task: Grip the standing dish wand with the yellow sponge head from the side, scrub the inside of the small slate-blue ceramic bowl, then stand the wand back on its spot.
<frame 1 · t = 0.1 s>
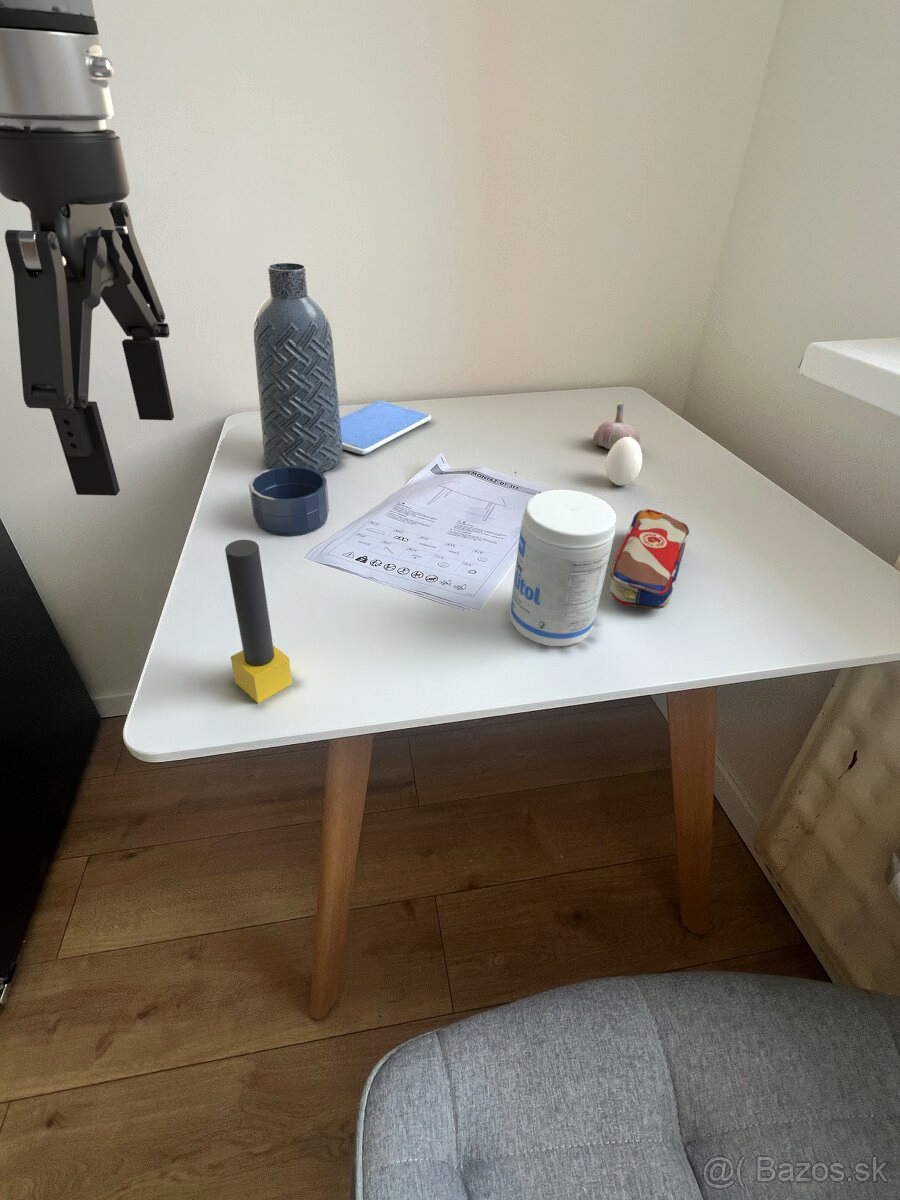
hand: (130, 452, 55), 25 cm above the table, tool pointing down, fingers open, 13 cm apart
egg: (619, 485, 109), on the table
bowl: (292, 518, 96), on the table
tablet: (372, 430, 122), on the table
garlic bulb: (614, 449, 119), on the table
supplement tub: (551, 624, 79), on the table
vase: (304, 460, 111), on the table
pencil case: (644, 574, 89), on the table
dish wand: (263, 683, 70), on the table
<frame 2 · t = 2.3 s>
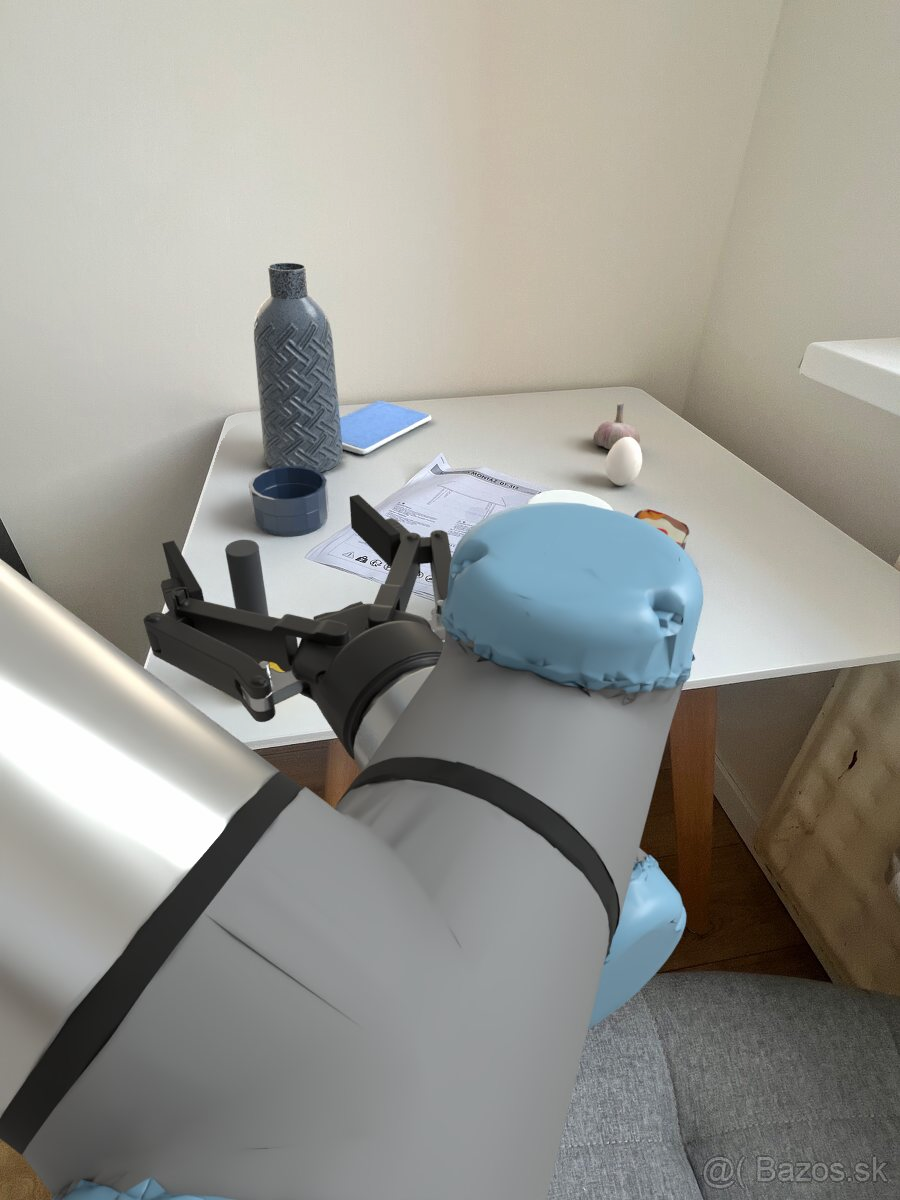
hand: (268, 533, 50), 22 cm above the table, tool horizontal, fingers open, 13 cm apart
nothing on the table moved.
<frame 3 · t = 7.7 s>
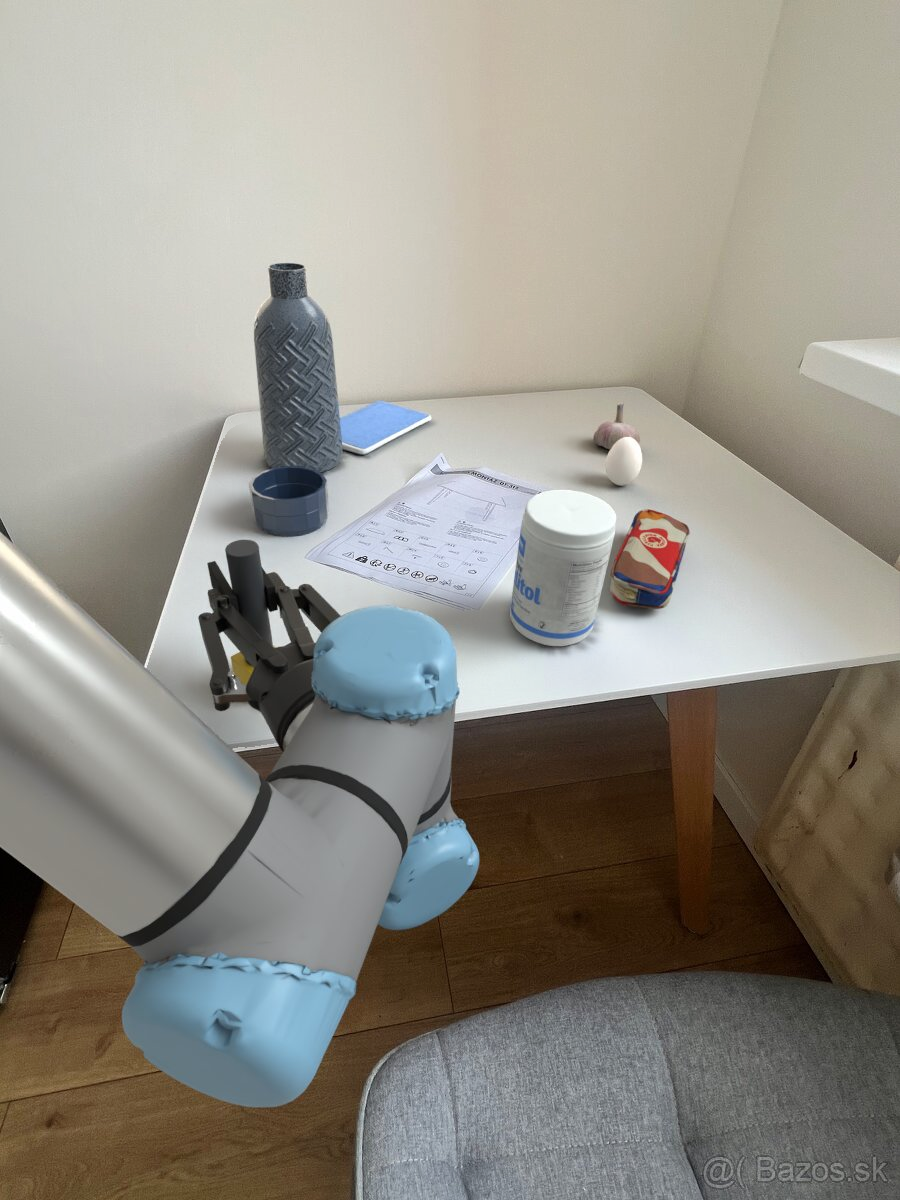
hand: (231, 569, 67), 10 cm above the table, tool horizontal, fingers closed on dish wand, 3 cm apart
dish wand: (263, 683, 70), on the table, touching gripper
everything else where it was.
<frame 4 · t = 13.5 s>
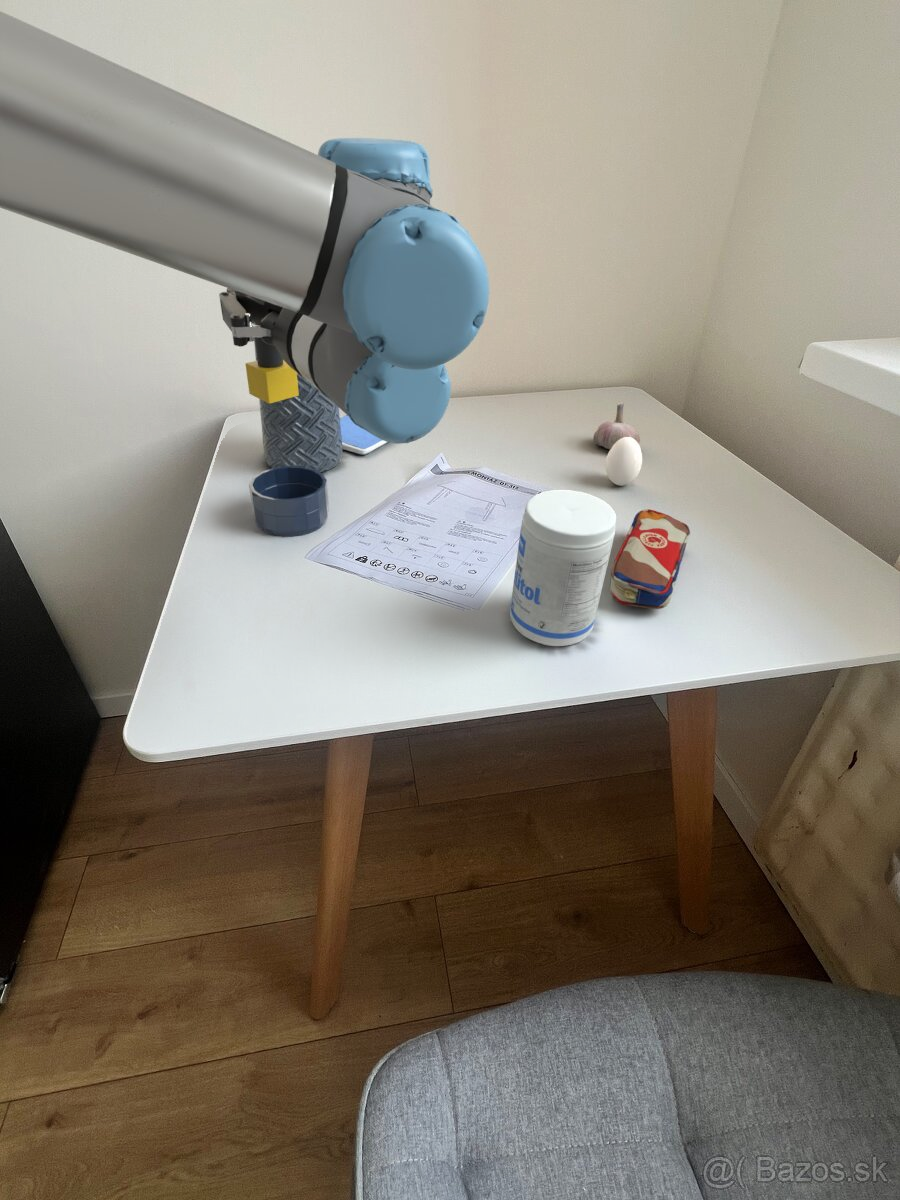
hand: (246, 285, 77), 30 cm above the table, tool horizontal, fingers closed on dish wand, 3 cm apart
dish wand: (274, 394, 80), point 20 cm above the table, touching gripper
everything else where it was.
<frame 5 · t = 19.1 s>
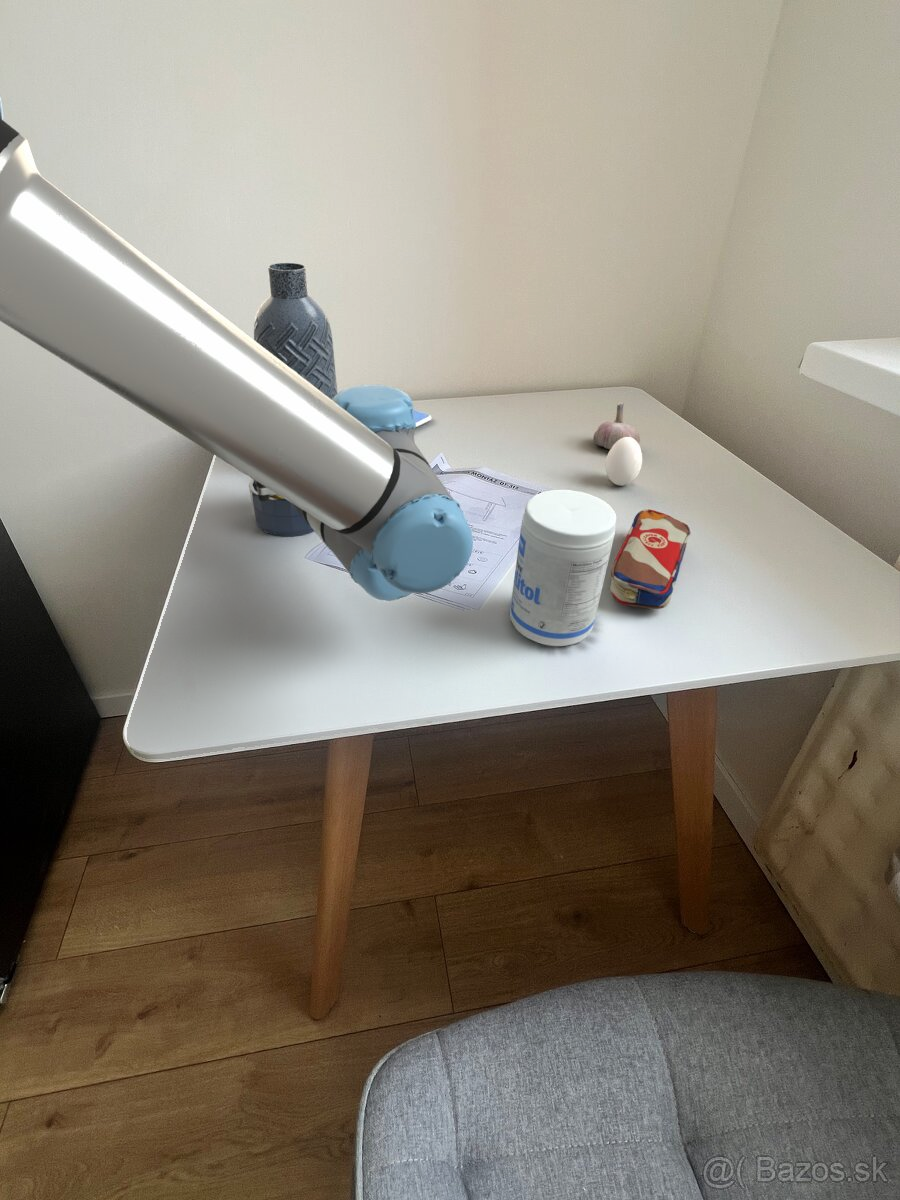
hand: (265, 428, 93), 11 cm above the table, tool horizontal, fingers closed on dish wand, 3 cm apart
dish wand: (293, 511, 95), point 1 cm above the table, tilted 5°, touching gripper
everything else where it was.
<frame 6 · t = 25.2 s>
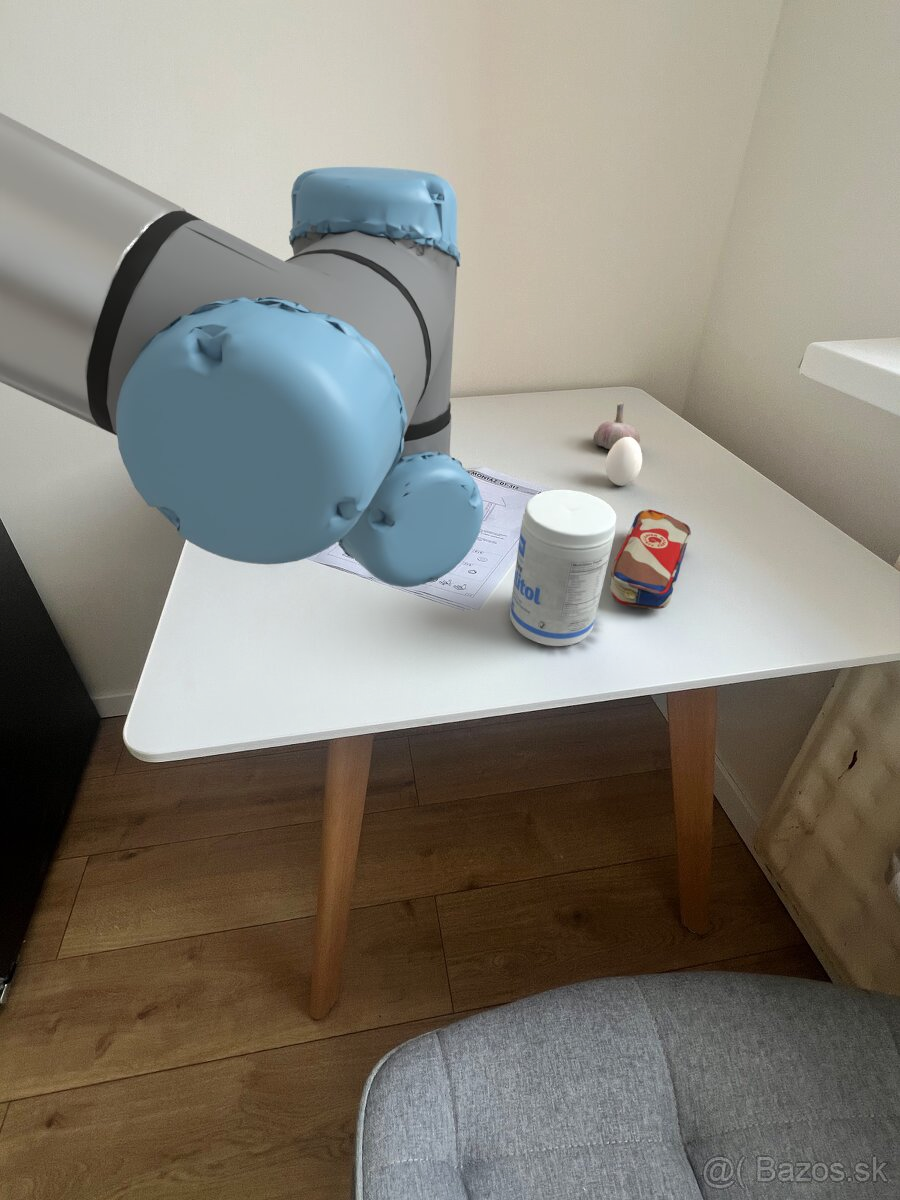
hand: (210, 336, 62), 30 cm above the table, tool horizontal, fingers closed on dish wand, 3 cm apart
dish wand: (246, 467, 65), point 19 cm above the table, touching gripper
everything else where it was.
when the fingers open (10 cm above the table, at t = 30.6 s): dish wand stays where it is, on the table.
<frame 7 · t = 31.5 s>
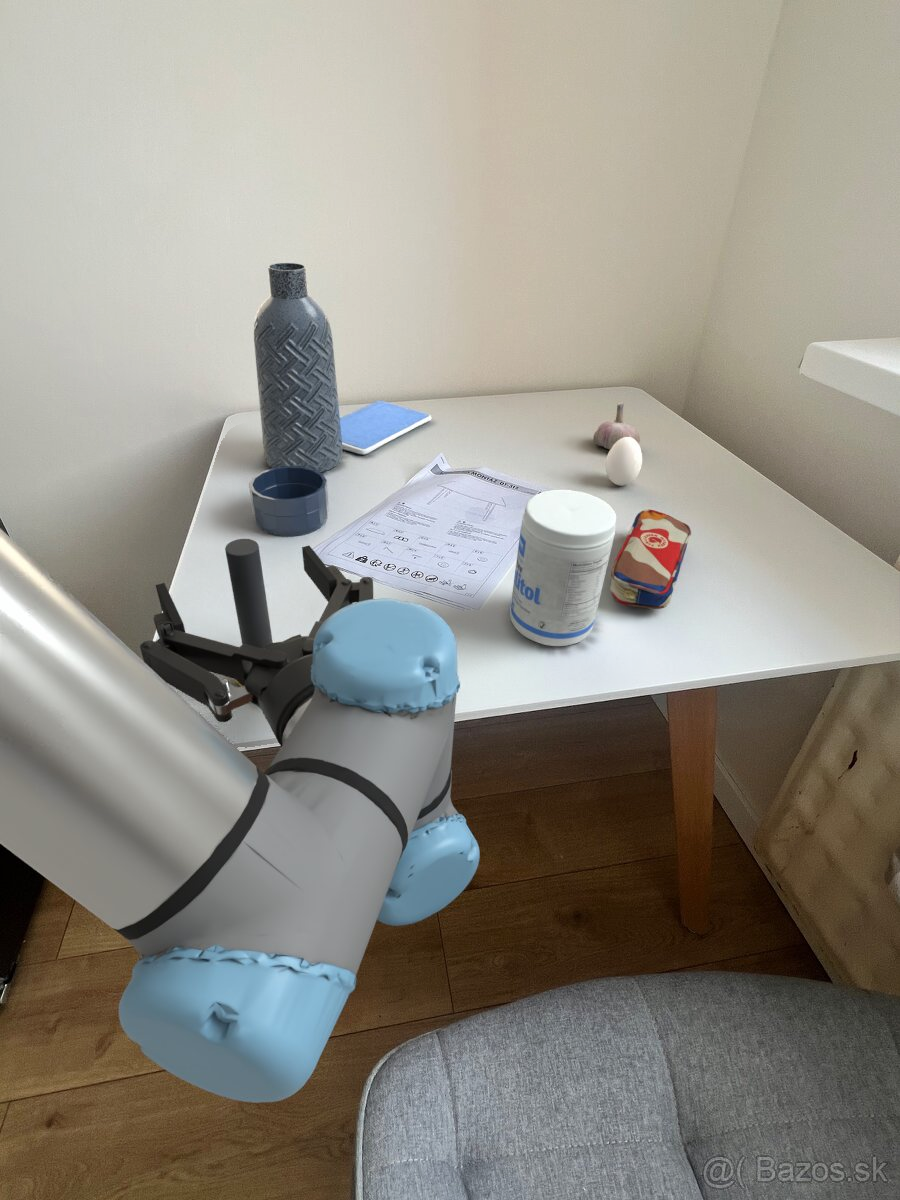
hand: (237, 575, 65), 11 cm above the table, tool horizontal, fingers open, 13 cm apart
dish wand: (263, 682, 70), on the table
everything else where it was.
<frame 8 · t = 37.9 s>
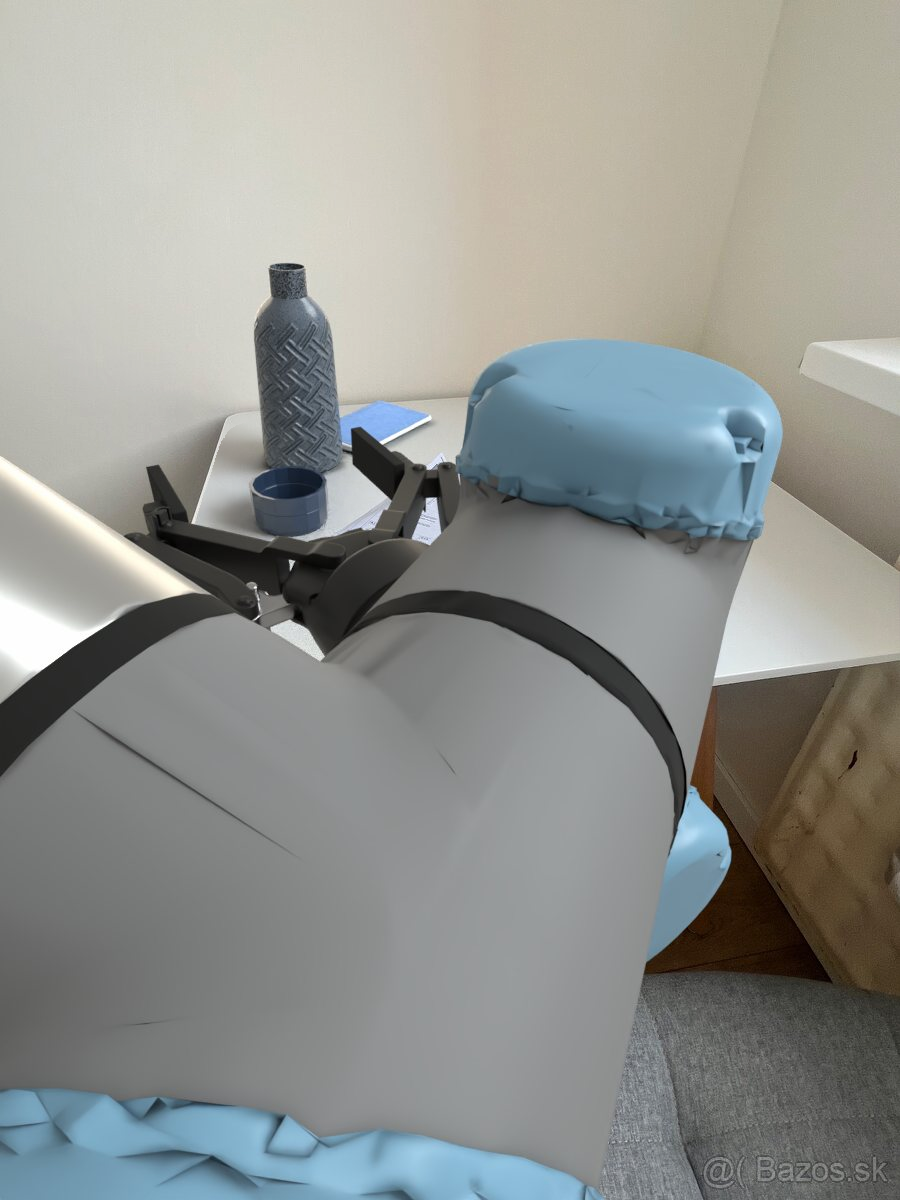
hand: (262, 464, 46), 28 cm above the table, tool horizontal, fingers open, 13 cm apart
nothing on the table moved.
at the end: dish wand inside the target area (0.1 cm from its centre), on the table; dish wand tilted 0°; bowl moved 0.0 cm from its start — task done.
